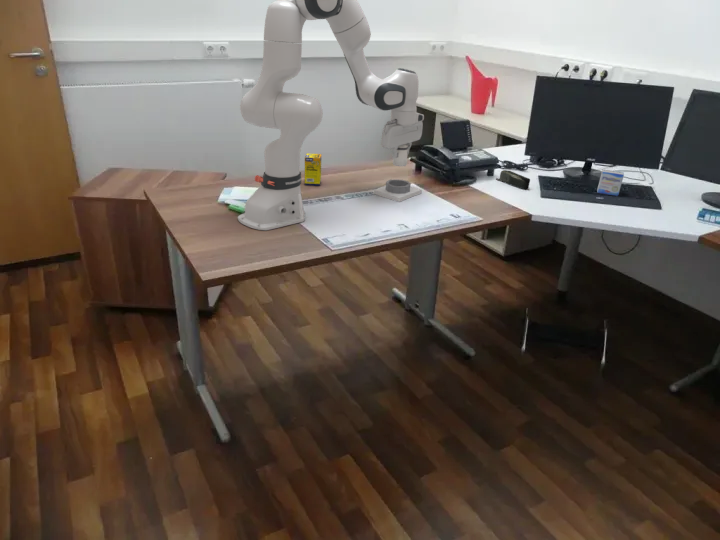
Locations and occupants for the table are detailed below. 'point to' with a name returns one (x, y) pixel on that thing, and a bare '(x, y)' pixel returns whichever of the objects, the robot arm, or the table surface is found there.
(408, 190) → the collar mount
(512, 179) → the dark green long block
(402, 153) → the lens cylinder
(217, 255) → the table surface
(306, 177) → the supplement box
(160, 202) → the table surface
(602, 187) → the medicine box
